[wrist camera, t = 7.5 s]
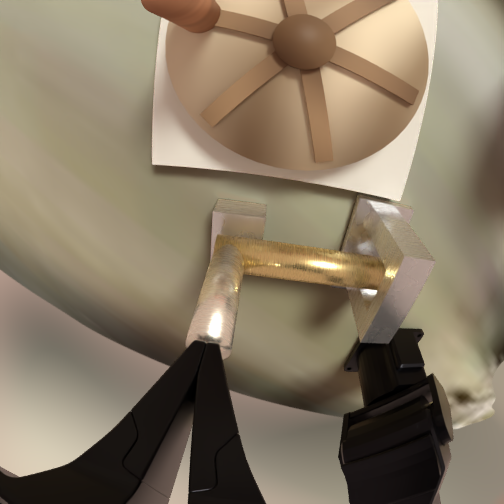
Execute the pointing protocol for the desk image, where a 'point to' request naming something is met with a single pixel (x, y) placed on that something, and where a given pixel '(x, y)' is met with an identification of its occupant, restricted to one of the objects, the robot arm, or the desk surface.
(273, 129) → the handwheel
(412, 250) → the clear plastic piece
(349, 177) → the wheel base
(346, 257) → the hook rod
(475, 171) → the desk surface
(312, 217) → the desk surface
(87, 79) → the desk surface
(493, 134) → the desk surface
